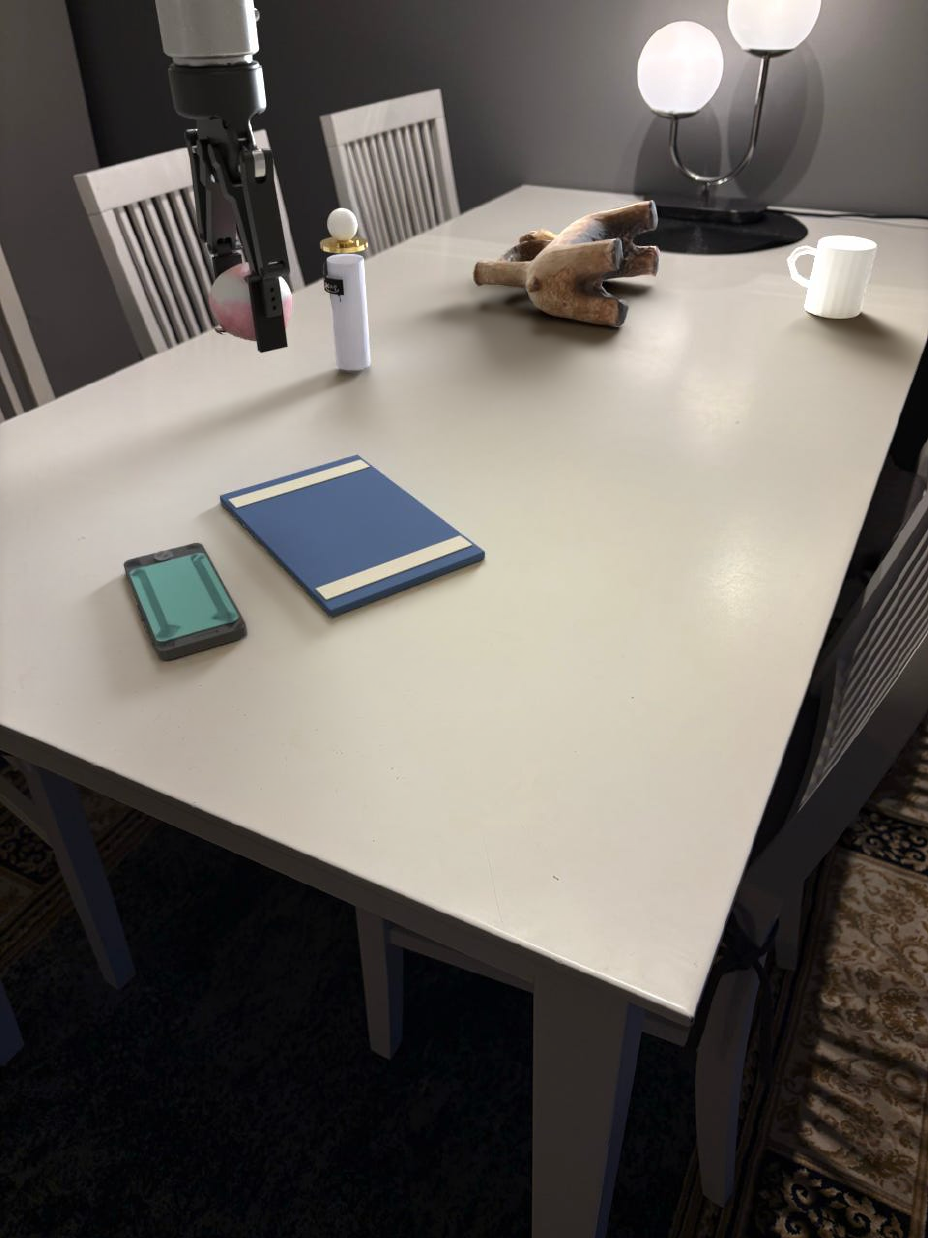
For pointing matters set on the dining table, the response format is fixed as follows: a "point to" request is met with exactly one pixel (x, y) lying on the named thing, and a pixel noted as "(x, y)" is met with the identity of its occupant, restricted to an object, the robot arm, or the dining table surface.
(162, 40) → the robot arm
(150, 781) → the dining table surface
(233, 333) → the onion
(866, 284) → the mug
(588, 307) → the ceramic vessel
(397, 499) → the towel
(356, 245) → the perfume bottle
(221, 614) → the smartphone
